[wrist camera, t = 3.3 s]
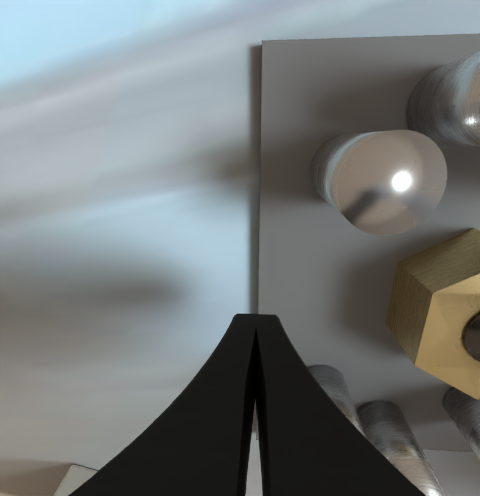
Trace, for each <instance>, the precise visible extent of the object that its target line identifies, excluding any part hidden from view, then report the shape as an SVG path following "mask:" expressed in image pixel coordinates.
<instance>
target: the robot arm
mask: <svg viewBox="0 0 480 496" xmlns="http://www.w3.org/2000/svg"><path fill="white" fill-rule="evenodd" d="M255 400H256V413H257V425H258V437H259V449H260V462H261V474H262V492H263V496H426V495H425V494H424V493H423V492H422V491H420V490H419V489H418V488H417V487H416V486H415V485H414V484H413V483H411V482H410V481H409V480H408V479H407V478H406V477H405V476H404V475H403V474H402V473H401V472H400V471H399V470H398V469H397V468H396V467H395V466H394V465H393V464H392V463H391V462H390V461H389V460H388V459H387V458H386V457H385V456H384V455H383V454H382V453H381V452H380V451H379V450H377V449H376V448H375V447H374V446H373V445H372V444H371V443H370V442H369V441H368V440H367V439H366V438H365V437H364V435H363V434H362V433H361V432H360V431H359V430H358V429H357V428H356V427H355V426H354V425H353V424H352V422H351V421H350V420H349V419H348V418H347V417H346V416H345V415H344V413H343V412H342V411H341V410H340V409H339V408H338V407H337V405H336V404H335V403H334V402H333V401H332V399H331V398H330V397H329V396H328V395H327V393H326V392H325V391H324V389H323V388H322V387H321V386H320V384H319V383H318V382H317V380H316V379H315V377H314V376H313V375H312V373H311V372H310V371H309V369H308V368H307V366H306V365H305V363H304V362H303V360H302V359H301V357H300V356H299V354H298V353H297V351H296V349H295V348H294V346H293V345H292V343H291V341H290V339H289V338H288V336H287V334H286V332H285V330H284V328H283V326H282V324H281V322H280V319H279V317H278V316H277V315H272V314H236V315H235V316H234V317H233V319H232V322H231V324H230V326H229V328H228V329H227V331H226V333H225V334H224V336H223V338H222V340H221V341H220V343H219V344H218V346H217V347H216V349H215V350H214V352H213V353H212V355H211V356H210V357H209V359H208V360H207V362H206V363H205V364H204V365H203V367H202V368H201V369H200V371H199V372H198V373H197V375H196V376H195V377H194V378H193V380H192V381H191V382H190V383H189V384H188V386H187V387H186V388H185V389H184V390H183V391H182V393H181V394H180V395H179V396H178V397H177V398H176V399H175V400H174V401H173V403H172V404H171V405H170V406H169V407H168V408H167V409H166V410H165V411H164V412H163V413H162V414H161V415H160V416H159V417H158V418H157V419H156V420H155V421H154V422H153V423H152V424H151V425H150V426H149V427H148V428H147V429H146V430H145V431H144V432H143V433H142V434H140V435H139V436H138V437H137V438H136V439H135V440H134V441H133V442H132V443H131V444H130V445H128V446H127V447H126V448H125V449H124V450H123V451H121V452H120V453H119V454H118V455H117V456H115V457H114V458H113V459H112V460H111V461H110V462H108V463H107V464H106V465H105V466H104V467H103V468H101V469H100V470H99V471H98V472H97V473H95V474H94V475H93V476H92V477H91V478H90V479H88V480H87V481H86V482H85V483H83V484H82V485H81V486H80V487H78V488H77V489H76V490H75V491H73V492H72V493H71V494H69V495H68V496H245V495H246V481H247V470H248V461H249V452H250V442H251V433H252V424H253V414H254V405H255Z"/></svg>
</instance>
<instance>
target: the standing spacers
mask: <svg viewBox="0 0 480 496" xmlns="http://www.w3.org/2000/svg"><path fill="white" fill-rule="evenodd" d="M406 123H407V127H408V129H409V130H391V131H379V132H367V133H355V134H343V135H339V136H336V137H333V138H331V139H329V140H328V141H326V142H325V143H324V144H323V145H322V146H321V147H320V148H319V149H318V150H317V152H316V153H315V155H314V157H313V160H312V162H311V167H310V179H311V182H312V185H313V187H314V189H315V191H316V192H317V193H318V194H319V195H320V196H321V197H322V198H323V199H324V200H326V201H327V202H328V203H329V204H330V205H331V206H332V207H333V208H334V209H336V210H337V211H338V212H339V213H340V214H341V215H342V216H343V217H344V218H346V219H347V220H348V221H349V222H350V223H351V224H352V225H353V226H355V227H356V228H358V229H359V230H361V231H363V232H366V233H369V234H372V235H379V236H388V235H395V234H399V233H403V232H405V231H408V230H410V229H412V228H414V227H415V226H417V225H418V224H420V223H421V222H423V221H424V220H425V219H426V218H427V217H428V216H429V215H430V214H431V213H432V212H433V211H434V209H435V208H436V207H437V205H438V203H439V202H440V200H441V198H442V196H443V193H444V190H445V187H446V182H447V165H446V161H445V158H444V156H443V153H442V152H441V150H440V148H439V147H438V146H473V147H480V51H478V52H476V53H473V54H471V55H468V56H466V57H464V58H461V59H459V60H456V61H454V62H451V63H449V64H447V65H444V66H442V67H439V68H437V69H435V70H433V71H431V72H430V73H428V74H427V75H426V76H424V77H423V78H422V79H421V80H420V81H419V82H418V84H417V85H416V86H415V87H414V89H413V91H412V92H411V94H410V97H409V99H408V102H407V106H406ZM307 368H308V369H309V371H310V372H311V373H312V375H313V376H314V377H315V379H316V380H317V382H318V383H319V384H320V386H321V387H322V388H323V389H324V391H325V392H326V393H327V395H328V396H329V397H330V398H331V399H332V401H333V402H334V403H335V404H336V405H337V407H338V408H339V409H340V410H341V411H342V412H343V413H344V415H345V416H346V417H347V418H348V419H349V420H350V421H351V422H352V424H353V425H354V426H355V427H356V428H357V429H358V430H359V431H360V432H361V433H362V434H363V435H364V437H365V438H366V439H367V440H368V441H369V442H370V443H371V444H372V445H373V446H374V447H375V448H376V449H377V450H379V451H380V452H381V453H382V454H383V455H384V456H385V457H386V458H387V459H388V460H389V461H390V462H391V463H392V464H393V465H394V466H395V467H396V468H397V469H398V470H399V471H400V472H401V473H402V474H403V475H404V476H405V477H406V478H407V479H408V480H409V481H410V482H411V483H413V484H414V485H415V486H416V487H417V488H418V489H419V490H420V491H422V492H423V493H424V494H425V495H426V496H446V495H445V493H444V491H443V489H442V487H441V485H440V483H439V481H438V480H437V478H436V476H435V474H434V472H433V470H432V468H431V466H430V464H429V462H428V461H427V459H426V457H425V455H424V453H423V451H422V449H421V447H420V445H419V443H418V442H417V440H416V438H415V436H414V434H413V432H412V430H411V428H410V426H409V424H408V423H407V421H406V419H405V417H404V415H403V413H402V411H401V409H400V408H399V407H398V406H397V405H396V404H394V403H392V402H389V401H385V400H374V401H369V402H366V403H364V404H362V405H361V406H359V407H358V408H357V409H355V407H354V404H353V401H352V398H351V395H350V393H349V390H348V387H347V384H346V381H345V379H344V376H343V375H342V373H341V372H340V371H339V370H337V369H336V368H334V367H332V366H328V365H313V366H310V367H307ZM442 404H443V408H444V409H445V411H446V412H447V414H448V415H449V417H450V418H451V420H452V421H453V422H454V424H455V425H456V427H457V428H458V430H459V431H460V433H461V434H462V435H463V437H464V438H465V440H466V441H467V443H468V444H469V446H470V447H471V449H472V450H473V451H474V453H475V454H476V456H477V457H478V459H479V460H480V400H477V399H475V398H473V397H471V396H470V395H468V394H466V393H464V392H462V391H460V390H459V389H457V388H455V387H453V386H452V387H451V388H450V389H449V390H447V392H446V393H445V395H444V397H443V400H442Z"/></svg>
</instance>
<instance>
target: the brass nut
mask: <svg viewBox="0 0 480 496" xmlns="http://www.w3.org/2000/svg"><path fill="white" fill-rule="evenodd" d="M386 325H387V326H388V328H389V329H390V331H391V332H392V334H393V335H394V336H395V338H396V339H397V341H398V342H399V344H400V345H401V347H402V348H403V350H404V351H405V352H406V354H407V355H408V357H409V358H410V360H411V361H412V363H413V364H414V365H415V366H416V367H418V368H420V369H422V370H424V371H425V372H427V373H429V374H431V375H433V376H435V377H436V378H438V379H440V380H442V381H444V382H446V383H448V384H449V385H451V386H453V387H455V388H457V389H459V390H460V391H462V392H464V393H466V394H468V395H470V396H471V397H473V398H475V399H477V400H480V230H478V229H476V228H472V229H469V230H467V231H465V232H463V233H461V234H458V235H456V236H454V237H452V238H450V239H447V240H445V241H443V242H441V243H438V244H436V245H434V246H432V247H430V248H427V249H425V250H423V251H421V252H419V253H416V254H414V255H412V256H410V257H408V258H405V259H403V260H401V261H399V262H397V268H396V273H395V278H394V283H393V288H392V293H391V298H390V303H389V308H388V313H387V318H386Z"/></svg>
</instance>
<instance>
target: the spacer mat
mask: <svg viewBox="0 0 480 496" xmlns="http://www.w3.org/2000/svg"><path fill="white" fill-rule="evenodd" d="M478 51H480V34H455V35H424V36H393V37H362V38H331V39H300V40H268V41H262V89H261V156H260V224H259V292H258V314H272V315H277V316H278V317H279V319H280V322H281V324H282V326H283V328H284V330H285V332H286V334H287V336H288V338H289V339H290V341H291V343H292V345H293V346H294V348H295V349H296V351H297V353H298V354H299V356H300V357H301V359H302V360H303V362H304V363H305V365H306V366H307V367H310V366H313V365H328V366H332V367H334V368H336V369H337V370H339V371H340V372H341V373H342V375H343V376H344V379H345V381H346V384H347V387H348V390H349V393H350V395H351V398H352V401H353V404H354V407H355V409H357V408H358V407H359V406H361V405H362V404H364V403H366V402H369V401H374V400H385V401H389V402H392V403H394V404H396V405H397V406H398V407H399V408H400V409H401V411H402V413H403V415H404V417H405V419H406V421H407V423H408V424H409V426H410V428H411V430H412V432H413V434H414V436H415V438H416V440H417V442H418V443H419V445H420V447H421V449H431V450H449V451H466V452H474V451H473V450H472V449H471V447H470V446H469V444H468V443H467V441H466V440H465V438H464V437H463V435H462V434H461V433H460V431H459V430H458V428H457V427H456V425H455V424H454V422H453V421H452V420H451V418H450V417H449V415H448V414H447V412H446V411H445V409H444V408H443V404H442V400H443V397H444V395H445V393H446V392H447V390H449V389H450V388H451V387H452V386H451V385H449V384H448V383H446V382H444V381H442V380H440V379H438V378H436V377H435V376H433V375H431V374H429V373H427V372H425V371H424V370H422V369H420V368H418V367H416V366H415V365H414V364H413V363H412V361H411V360H410V358H409V357H408V355H407V354H406V352H405V351H404V350H403V348H402V347H401V345H400V344H399V342H398V341H397V339H396V338H395V336H394V335H393V334H392V332H391V331H390V329H389V328H388V326H387V325H386V318H387V313H388V308H389V303H390V298H391V293H392V288H393V283H394V278H395V273H396V268H397V262H399V261H401V260H403V259H405V258H408V257H410V256H412V255H414V254H416V253H419V252H421V251H423V250H425V249H427V248H430V247H432V246H434V245H436V244H438V243H441V242H443V241H445V240H447V239H450V238H452V237H454V236H456V235H458V234H461V233H463V232H465V231H467V230H469V229H472V228H476V229H478V230H480V147H473V146H438V147H439V148H440V150H441V152H442V153H443V156H444V158H445V161H446V165H447V182H446V187H445V190H444V193H443V196H442V198H441V200H440V202H439V203H438V205H437V207H436V208H435V209H434V211H433V212H432V213H431V214H430V215H429V216H428V217H427V218H426V219H425V220H424V221H423V222H421V223H420V224H418V225H417V226H415V227H414V228H412V229H410V230H408V231H405V232H403V233H399V234H395V235H388V236H379V235H372V234H369V233H366V232H363V231H361V230H359V229H358V228H356V227H355V226H353V225H352V224H351V223H350V222H349V221H348V220H347V219H346V218H344V217H343V216H342V215H341V214H340V213H339V212H338V211H337V210H336V209H334V208H333V207H332V206H331V205H330V204H329V203H328V202H327V201H326V200H324V199H323V198H322V197H321V196H320V195H319V194H318V193H317V192H316V191H315V189H314V187H313V185H312V182H311V179H310V167H311V162H312V160H313V157H314V155H315V153H316V152H317V150H318V149H319V148H320V147H321V146H322V145H323V144H324V143H325V142H326V141H328V140H329V139H331V138H333V137H336V136H339V135H343V134H355V133H367V132H379V131H391V130H409V129H408V127H407V123H406V106H407V102H408V99H409V97H410V94H411V92H412V91H413V89H414V87H415V86H416V85H417V84H418V82H419V81H420V80H421V79H422V78H423V77H424V76H426V75H427V74H428V73H430V72H431V71H433V70H435V69H437V68H439V67H442V66H444V65H447V64H449V63H451V62H454V61H456V60H459V59H461V58H464V57H466V56H468V55H471V54H473V53H476V52H478ZM256 440H259V437H258V425H257V427H256Z"/></svg>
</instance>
